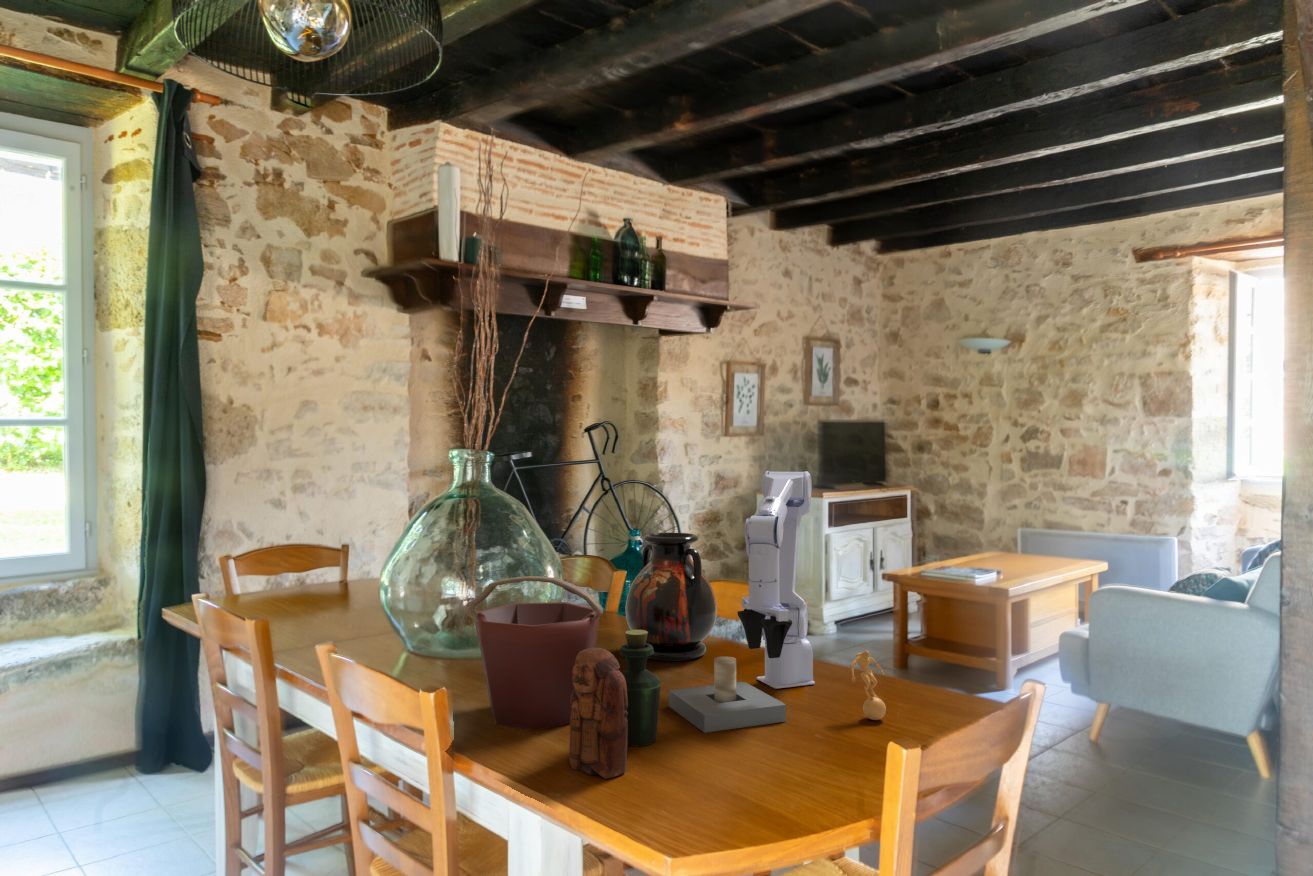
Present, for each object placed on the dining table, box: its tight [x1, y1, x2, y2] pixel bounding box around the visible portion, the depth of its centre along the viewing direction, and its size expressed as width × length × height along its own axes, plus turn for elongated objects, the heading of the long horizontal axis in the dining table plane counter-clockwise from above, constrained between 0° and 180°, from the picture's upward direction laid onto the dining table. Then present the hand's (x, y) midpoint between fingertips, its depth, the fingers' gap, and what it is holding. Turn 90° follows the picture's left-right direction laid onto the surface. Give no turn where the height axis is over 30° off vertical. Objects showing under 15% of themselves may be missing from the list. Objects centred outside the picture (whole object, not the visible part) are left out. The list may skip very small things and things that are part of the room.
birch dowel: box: [713, 655, 737, 703], centre depth 158 cm, size 4×4×10 cm
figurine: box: [849, 650, 887, 721], centre depth 156 cm, size 8×6×12 cm
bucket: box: [467, 575, 604, 731], centre depth 159 cm, size 24×22×25 cm
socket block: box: [668, 681, 787, 734], centre depth 158 cm, size 16×16×3 cm
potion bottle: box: [618, 630, 661, 747], centre depth 144 cm, size 8×8×18 cm
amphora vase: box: [624, 532, 718, 662], centre depth 203 cm, size 22×22×28 cm
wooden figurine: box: [568, 647, 628, 779], centre depth 132 cm, size 12×6×18 cm, turn 45°
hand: (764, 652), depth 161 cm, fingers open, 7 cm apart
